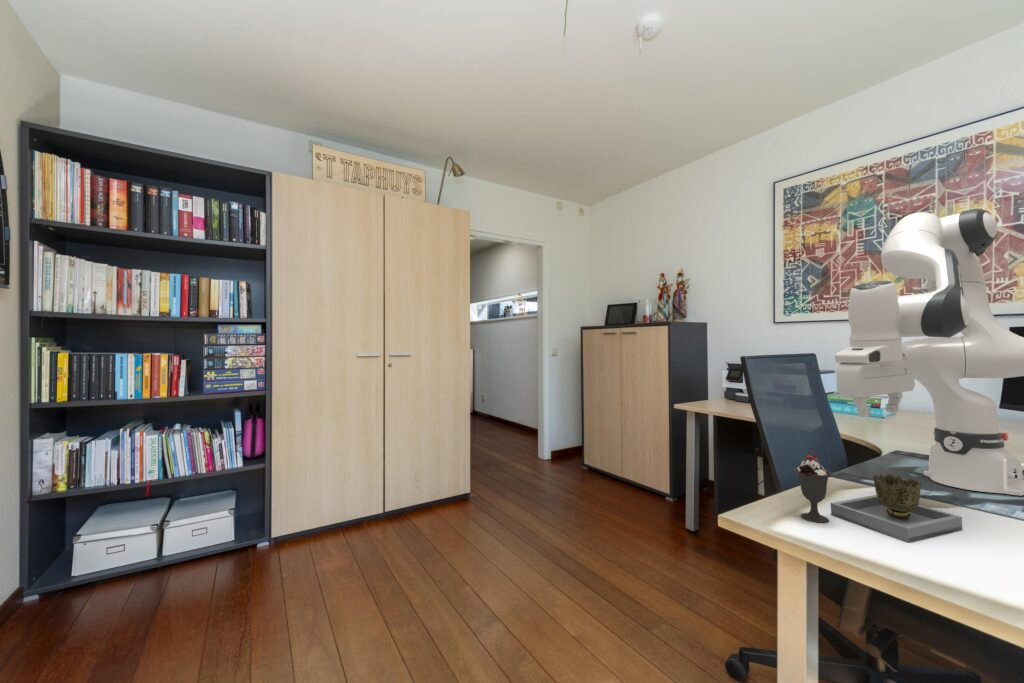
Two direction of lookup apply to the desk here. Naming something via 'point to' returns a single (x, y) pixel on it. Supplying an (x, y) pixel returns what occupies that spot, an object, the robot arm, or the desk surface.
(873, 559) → the desk surface
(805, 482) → the sundae
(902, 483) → the cup
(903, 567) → the desk surface
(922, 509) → the tray
